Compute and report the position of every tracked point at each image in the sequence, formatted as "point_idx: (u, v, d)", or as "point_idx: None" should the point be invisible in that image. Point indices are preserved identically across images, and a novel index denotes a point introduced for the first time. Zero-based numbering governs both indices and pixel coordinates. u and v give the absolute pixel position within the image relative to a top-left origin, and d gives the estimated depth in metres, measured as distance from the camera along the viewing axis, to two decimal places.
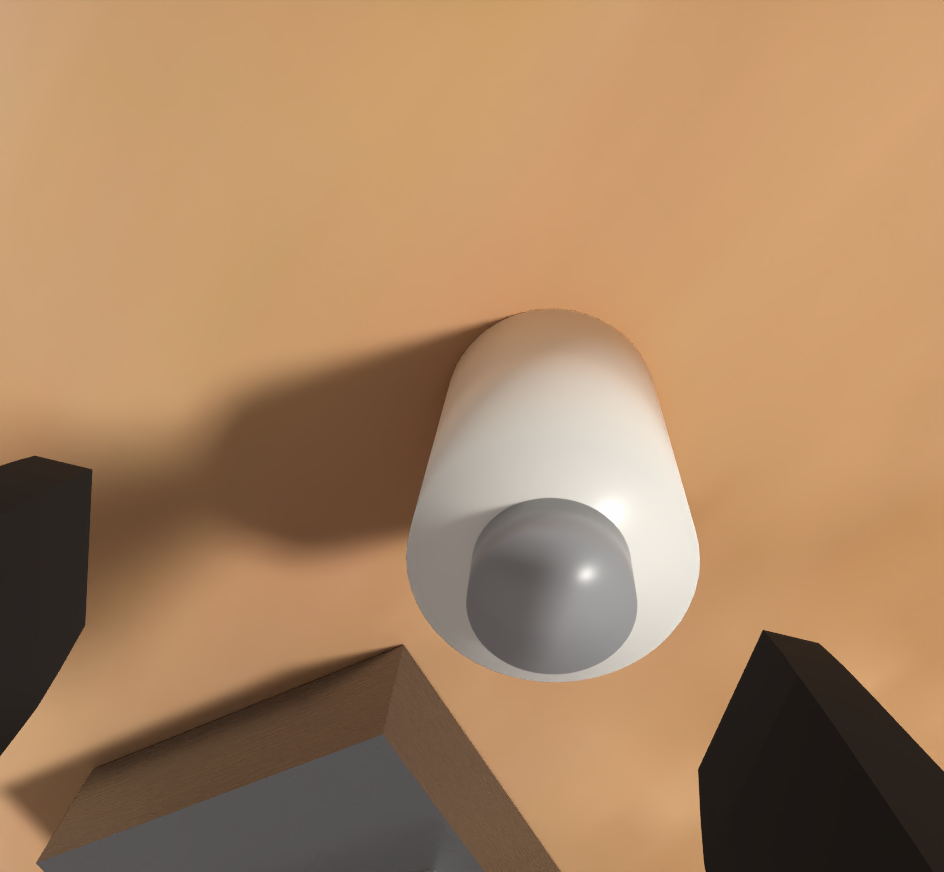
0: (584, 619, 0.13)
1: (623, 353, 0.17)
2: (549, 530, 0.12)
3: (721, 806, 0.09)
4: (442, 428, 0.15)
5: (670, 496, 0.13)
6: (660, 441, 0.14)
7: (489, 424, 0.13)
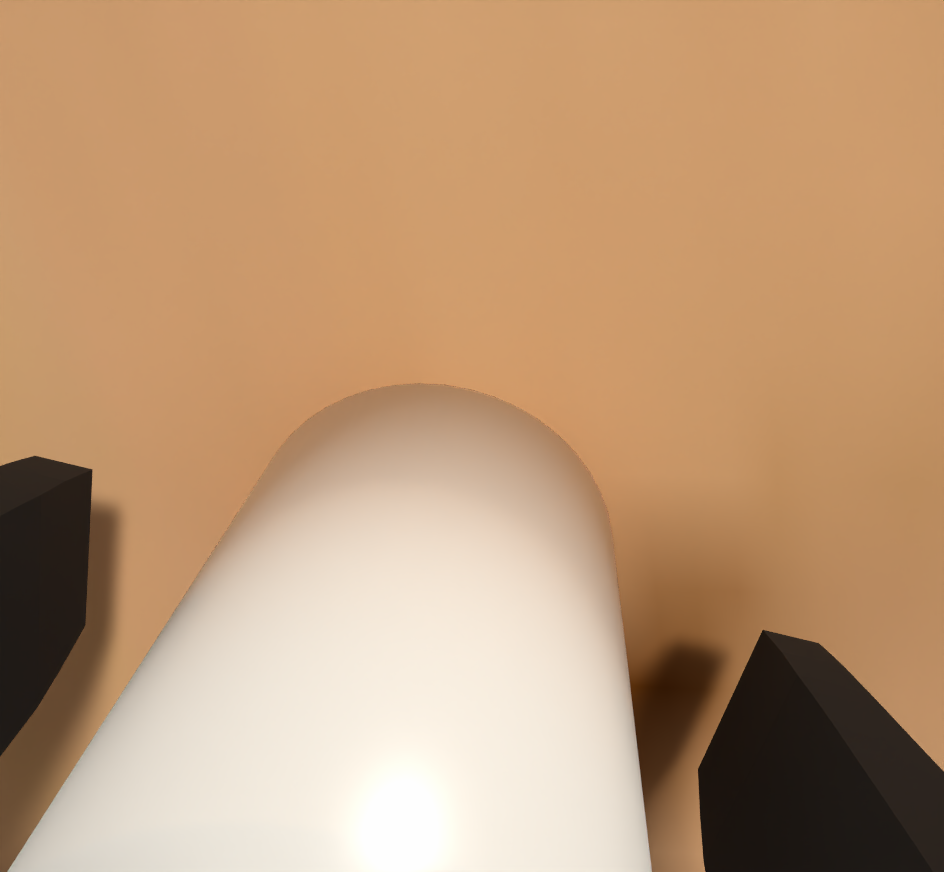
0: None
1: (366, 435, 0.09)
2: None
3: (721, 806, 0.09)
4: None
5: (301, 836, 0.04)
6: (351, 629, 0.06)
7: None
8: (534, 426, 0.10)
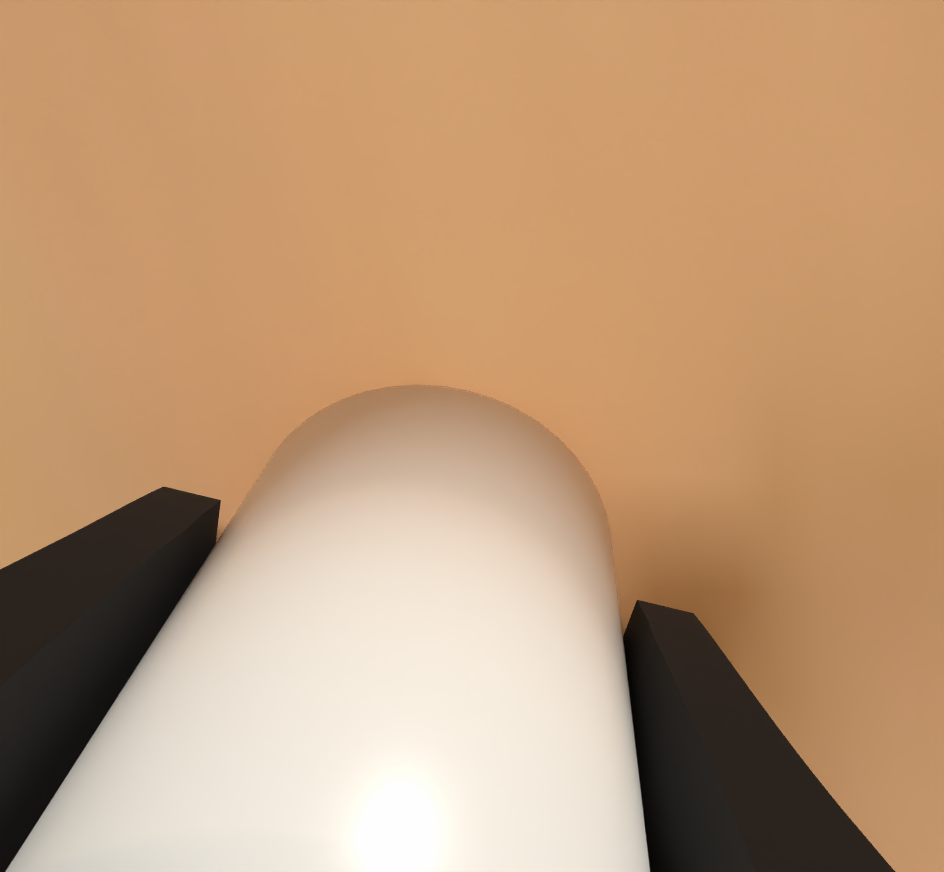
0: None
1: (363, 437, 0.09)
2: None
3: None
4: None
5: (297, 846, 0.04)
6: (347, 634, 0.06)
7: None
8: (532, 428, 0.10)
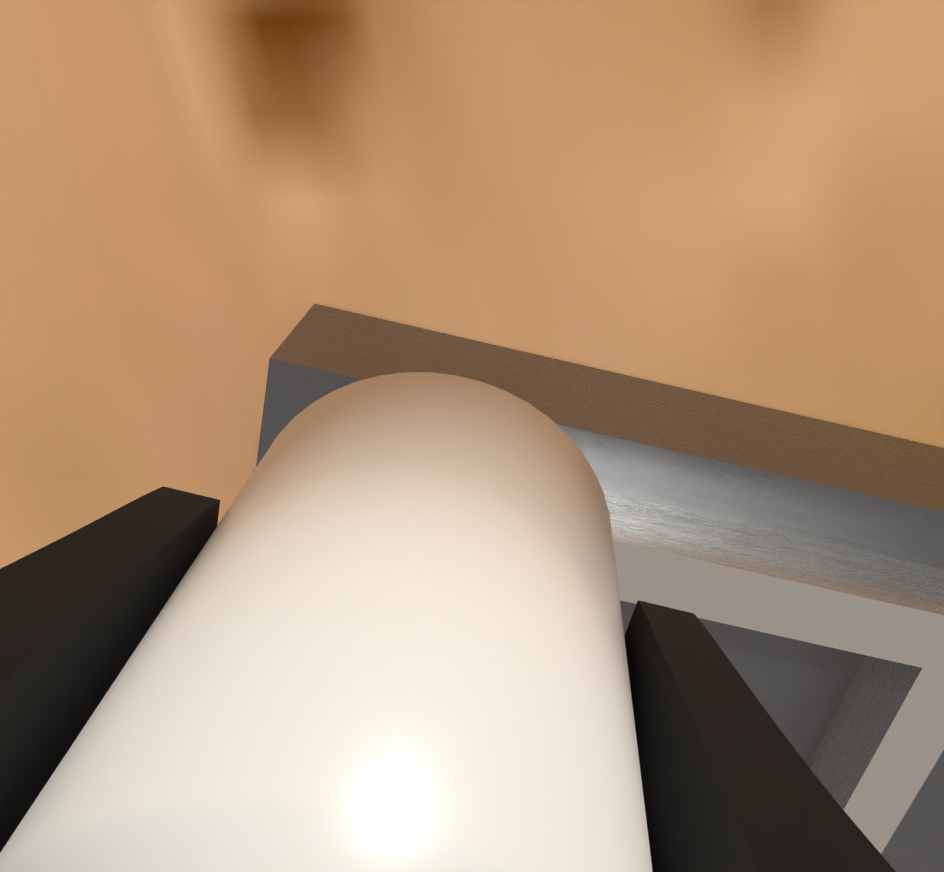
0: None
1: (348, 425, 0.09)
2: None
3: None
4: None
5: (268, 814, 0.04)
6: (324, 610, 0.06)
7: None
8: (521, 407, 0.10)
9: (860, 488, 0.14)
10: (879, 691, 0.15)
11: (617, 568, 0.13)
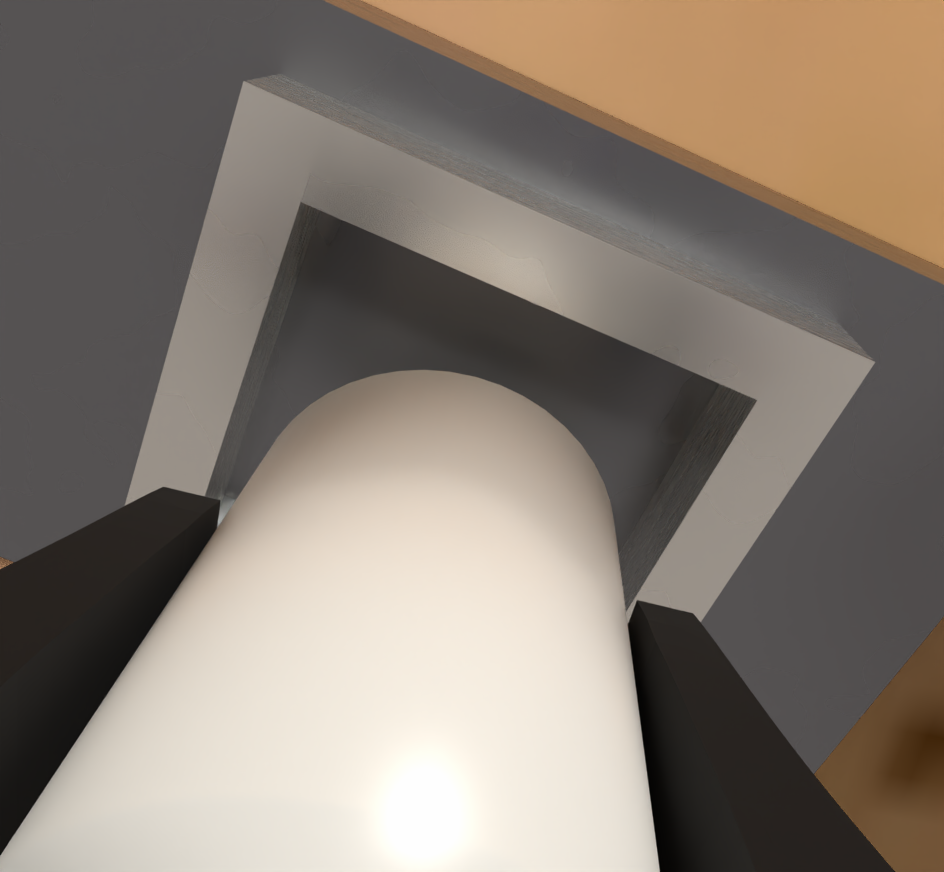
0: None
1: (343, 425, 0.09)
2: None
3: None
4: None
5: (258, 807, 0.04)
6: (316, 606, 0.06)
7: None
8: (517, 401, 0.10)
9: (723, 182, 0.11)
10: (705, 447, 0.12)
11: (393, 190, 0.10)
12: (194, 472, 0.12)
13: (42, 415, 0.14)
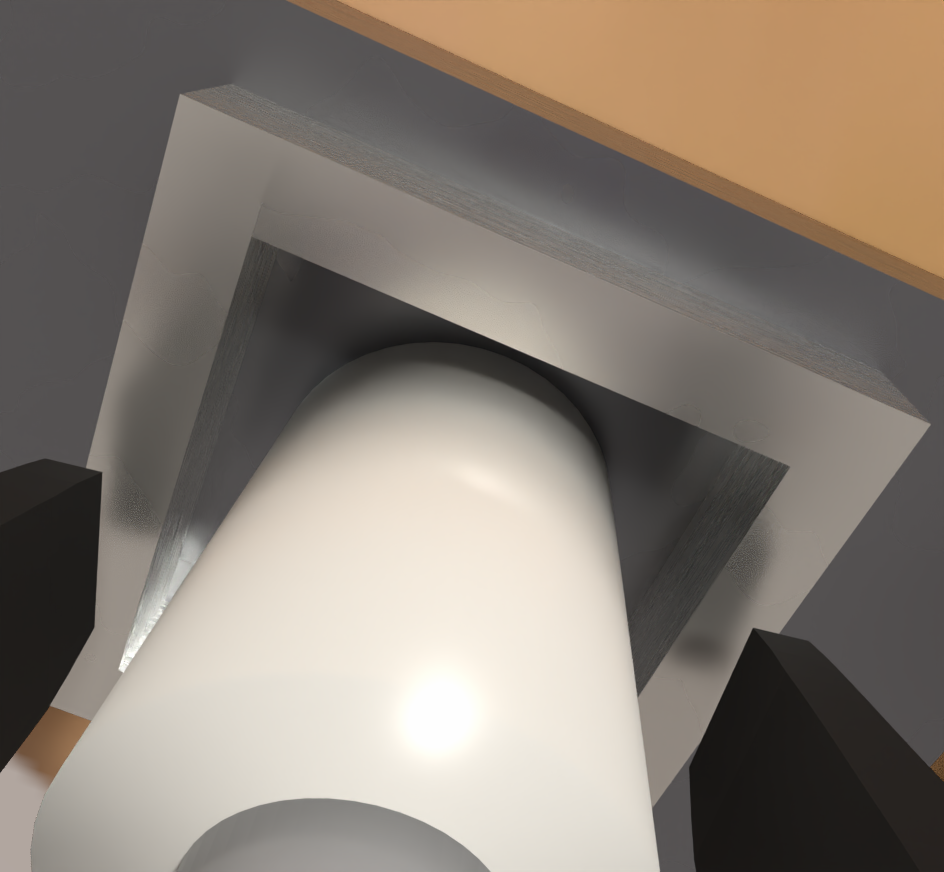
0: None
1: (362, 389, 0.10)
2: None
3: (710, 804, 0.09)
4: None
5: (304, 684, 0.05)
6: (346, 533, 0.07)
7: None
8: (520, 370, 0.10)
9: (749, 210, 0.10)
10: (727, 514, 0.10)
11: (360, 223, 0.09)
12: (136, 544, 0.10)
13: None
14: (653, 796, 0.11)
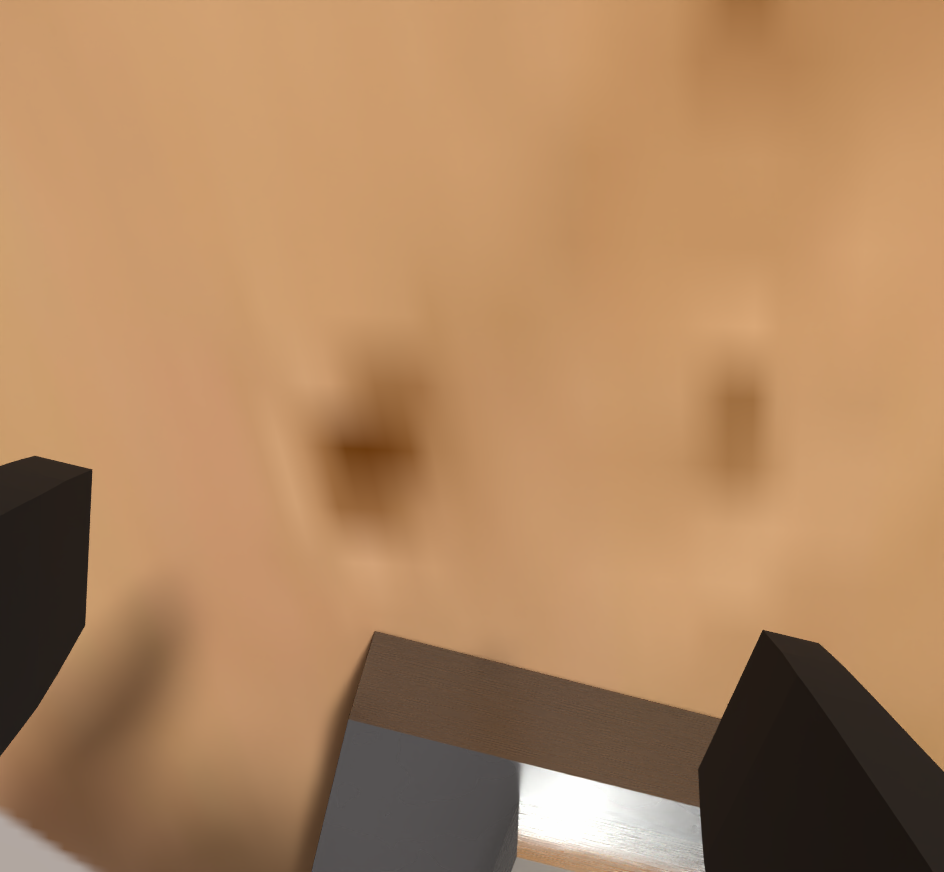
0: None
1: None
2: None
3: (721, 806, 0.09)
4: None
5: None
6: None
7: None
8: None
9: None
10: None
11: None
12: None
13: None
14: None
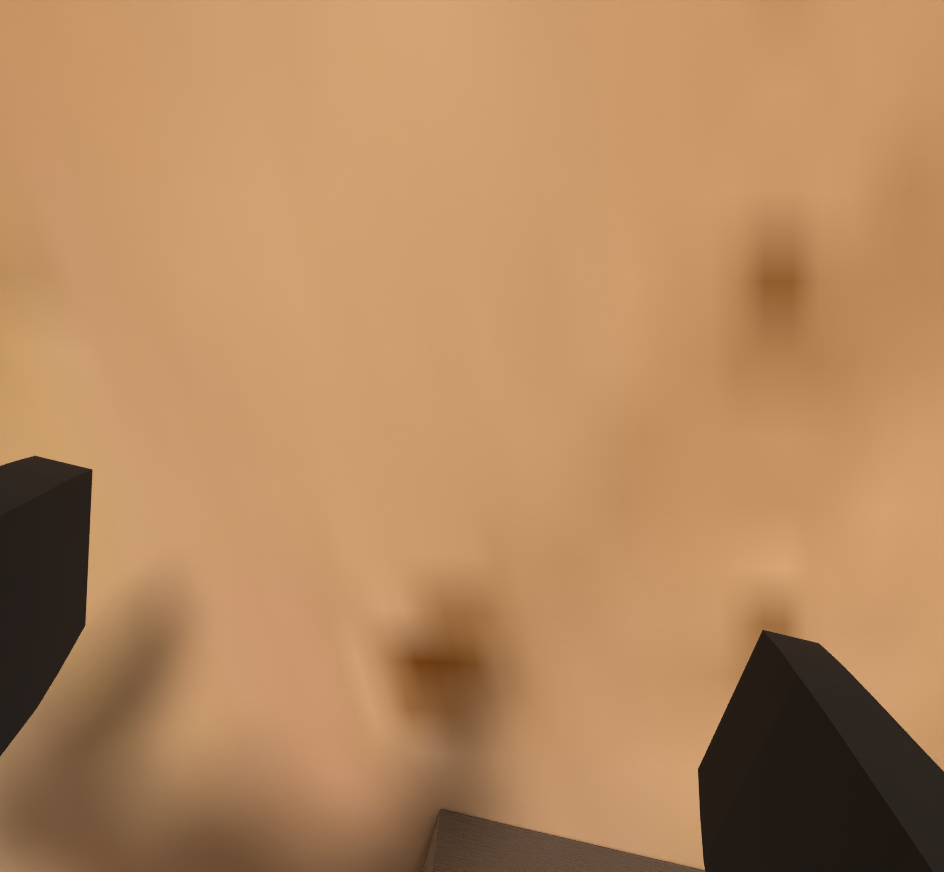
0: None
1: None
2: None
3: (720, 806, 0.09)
4: None
5: None
6: None
7: None
8: None
9: None
10: None
11: None
12: None
13: None
14: None
